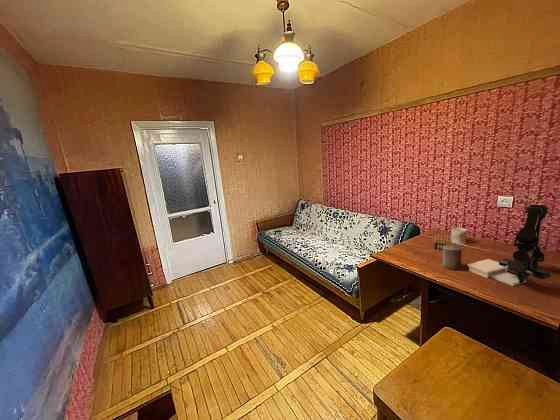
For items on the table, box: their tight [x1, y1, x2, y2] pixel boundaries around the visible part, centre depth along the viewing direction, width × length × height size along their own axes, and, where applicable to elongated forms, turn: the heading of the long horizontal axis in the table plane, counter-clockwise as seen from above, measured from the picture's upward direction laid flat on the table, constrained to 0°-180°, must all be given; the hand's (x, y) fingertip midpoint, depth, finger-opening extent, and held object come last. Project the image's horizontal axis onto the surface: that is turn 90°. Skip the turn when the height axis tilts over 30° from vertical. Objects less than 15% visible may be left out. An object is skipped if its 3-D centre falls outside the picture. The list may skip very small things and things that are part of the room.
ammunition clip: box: [433, 234, 453, 251], centre depth 173 cm, size 11×2×12 cm, turn 55°
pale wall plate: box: [489, 270, 527, 287], centre depth 130 cm, size 10×14×2 cm
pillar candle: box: [442, 244, 463, 271], centre depth 146 cm, size 10×10×15 cm
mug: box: [450, 227, 468, 245], centre depth 184 cm, size 10×12×11 cm
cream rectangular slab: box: [467, 258, 508, 279], centre depth 137 cm, size 17×11×4 cm, turn 105°
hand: (521, 282), depth 122 cm, fingers closed
